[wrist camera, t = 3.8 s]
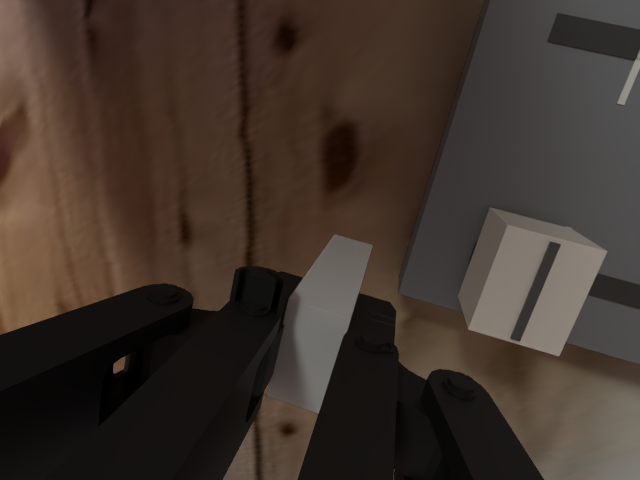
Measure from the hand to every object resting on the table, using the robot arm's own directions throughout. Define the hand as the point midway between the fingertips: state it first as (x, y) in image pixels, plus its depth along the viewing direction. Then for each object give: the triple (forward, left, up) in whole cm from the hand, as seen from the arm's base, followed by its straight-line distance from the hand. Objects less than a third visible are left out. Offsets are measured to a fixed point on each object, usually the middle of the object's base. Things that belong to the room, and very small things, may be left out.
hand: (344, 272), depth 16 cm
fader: (+8, 0, -7) cm, 11 cm away
